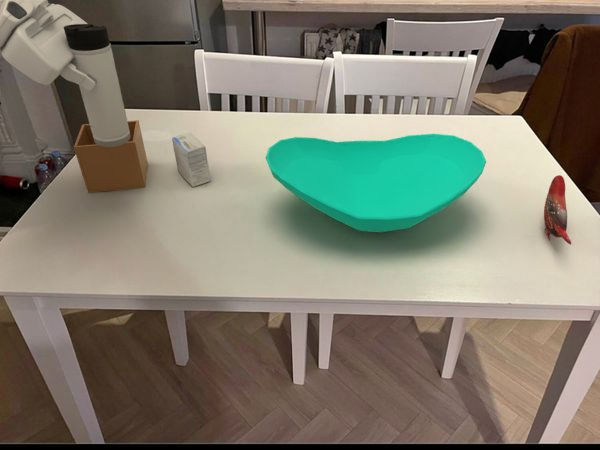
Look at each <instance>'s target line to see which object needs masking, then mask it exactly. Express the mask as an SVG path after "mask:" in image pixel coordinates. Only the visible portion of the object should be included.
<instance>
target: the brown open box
mask: <svg viewBox="0 0 600 450" xmlns="http://www.w3.org/2000/svg"><path fill="white" fill-rule="evenodd" d="M127 122H128V126H129V131H130V135H131V137H130V139H129V141H127V142H126V143H124V144H122V145H119V146H115V147H103V146H99V145H97V144H96V143H95V141H94V138H93V134H92V131H91V127H90V123H86V124H85V123H84V124H82V125H81V127H80V130H79V132H78V135H77V138H76V139H75V143H74V145H73V150H74V152H75V156H76V159H77V162H78V165H79V168H80V172H81V174H82V178H83V181H84V184H85V188H86V190H87V193H88V194H90V192H92V193H100V192H101V193H102V192H111V191H120V190H130V189H131V190H133V189H141V188H146V185H147V183H146V182H147V175H148V174H147V173H148V167H149V166H148V165H149V162H148V157H147V153H146V148H145V144H144V143H145V142H144V139H143V134H142V129H141V124H140V121H139V120H138V119H137V120H127Z"/></svg>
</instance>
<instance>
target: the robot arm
mask: <svg viewBox="0 0 600 450" xmlns="http://www.w3.org/2000/svg"><path fill="white" fill-rule="evenodd" d="M73 24H88V23H87V22H86V21H85V20H83V19H82V18H81V17H79V16H78V15H77V14H76V13H74V12H73V11H71V10H70V9H68V8H67V7H66V6H64V5H61V4H55V3H50V2H49V0H0V54H1V56H2V57H3V59H4V60H5V61H6V62H7V63H9V64H10V65H11V66H12V67H14V68H15V69H16V70H18V71H19V72H21V73H22V74H23V75H25V76H26V77H28V78H29V79H31V80H32V81H34V82H35V83H38V84H41V85H43V86H50V85H51V84H52V83H53V82H54V81H55V80H56V79H57V78H58V77H59V76H60V77H62V78H63V79H65V80H66V81H68V82H71V83H74V84H76V85H79V84H80V85H81V86H82V87H84V88H85V89H86V90H88V91H91V90H92V88H93V87H94V86H95V85H96V83H97V80H96V79H95V78H93V77H92V76H91V75H89V74H87V75H86V74H84V73H82V72H80V71H79V70H77V69H76V67H75V66H74V65H73V62H72V59H73V58H74V57H75V56H74V53H73V52H72V51H71V49H70V47H69V45H68V41H67V38H66V35H65V31H64V26H67V25H73Z"/></svg>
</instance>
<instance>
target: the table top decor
mask: <svg viewBox="0 0 600 450" xmlns="http://www.w3.org/2000/svg"><path fill="white" fill-rule="evenodd" d="M265 160H266V163H267V165H268V167H269V170H270V172H271V175H272V177H273V178H274V179H275V180H276V181H278V183H280V184H281V185H282V186H283V187H284V188H285V189H287V191H289V192H291V194H293V195H294V196H296V197H297V198H298V199H301V200H302V201H303V202H305V203H307V204H308V205H309V206H311V207H312V208H315V209H316V210H318V211H320V212H321V213H323V214H325V215H326V216H329V217H330V218H332V219H333V220H335V221H338V222H340V223H342V224H344V225H346V226H349V227H350V228H352V229H355V230H357V231H359V232H369V233H386V232H392V231H399V230H400V231H401V230H406V229H410V228H412V227H414V226H416V225H418V224H420V223H421V222H423V221H425V220H427V219H429V218H430V217H432V216H434V215H436V214H438V213H439V212H441V211H443V210H445V209H446V208H447V207H449V206H450V205H452V204H453V203H454V202H456V201H457V200H458V199H460V198H462V197H463V196H464V195H465V194H466V193H467V192H468V191H469V190H470V189H471V188H472V186H473V185H474V184H475V183H476V182H477V181H478V180H479V178H481V176H482V174H483V173H484V170H485V167H486V164H487V160H486V158H485V155H484V153H483V150H481V149H480V148H479V147H477V146H476V145H475V144H474V143H473V142H471V141H469V140H467V139H464V138H462V137H459V136H458V135H457V136H456V135H454V134H453V135H451V134H441V133H425V134H422V133H421V134H411V135H405V136H400V137H396V138H391V139H386V140H347V141H346V140H345V141H344V140H343V141H333V140H328V139H323V138H317V137H304V136H302V137H301V136H294V137H289V138H283V139H279V140H278V141H277V142H275V143H274V144H273V145H271V146H269V148H268V149H267V152H266V156H265Z"/></svg>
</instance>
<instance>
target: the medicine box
mask: <svg viewBox="0 0 600 450" xmlns="http://www.w3.org/2000/svg"><path fill="white" fill-rule="evenodd" d="M171 140H172V146H173V152H174V156H175V163H176V169H177V173H179V174H180V175H181V176H182V178H184V180H185V181H186V182H187V183H188V184H189V185H190V186H191V187H192V188H194V187H197V186H202V185H203V184H206V183H210V182H211V175H210V167H209V161H208V154H207V148H206V145H204V144H203V143H202V142H201V141H200V140H199V139H198V138H197V137H195V135H194V134H192V133H191V132H188V133H183V134H180V135H176V136H174V137H173V136H172V138H171Z"/></svg>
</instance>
